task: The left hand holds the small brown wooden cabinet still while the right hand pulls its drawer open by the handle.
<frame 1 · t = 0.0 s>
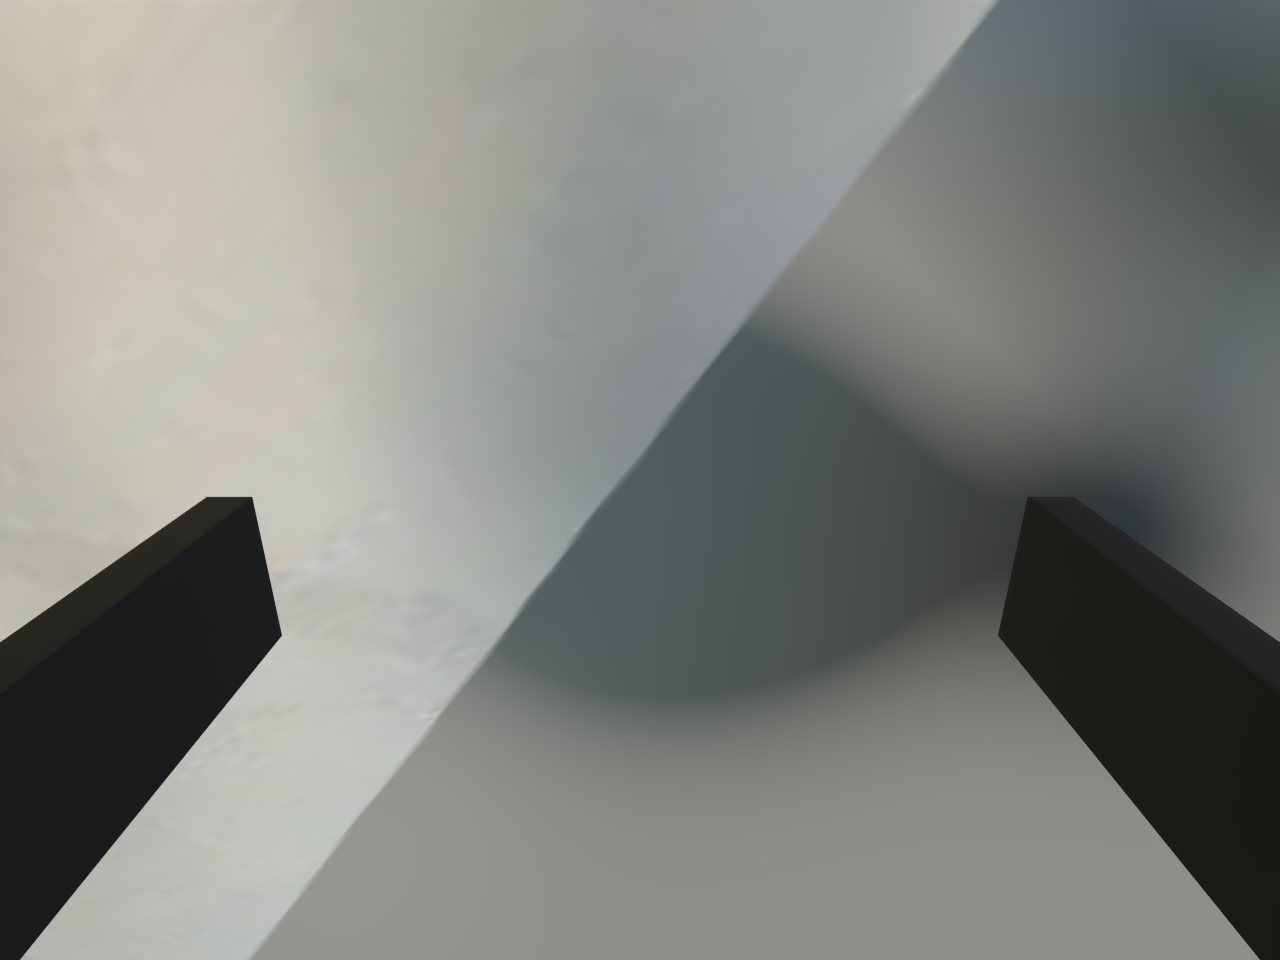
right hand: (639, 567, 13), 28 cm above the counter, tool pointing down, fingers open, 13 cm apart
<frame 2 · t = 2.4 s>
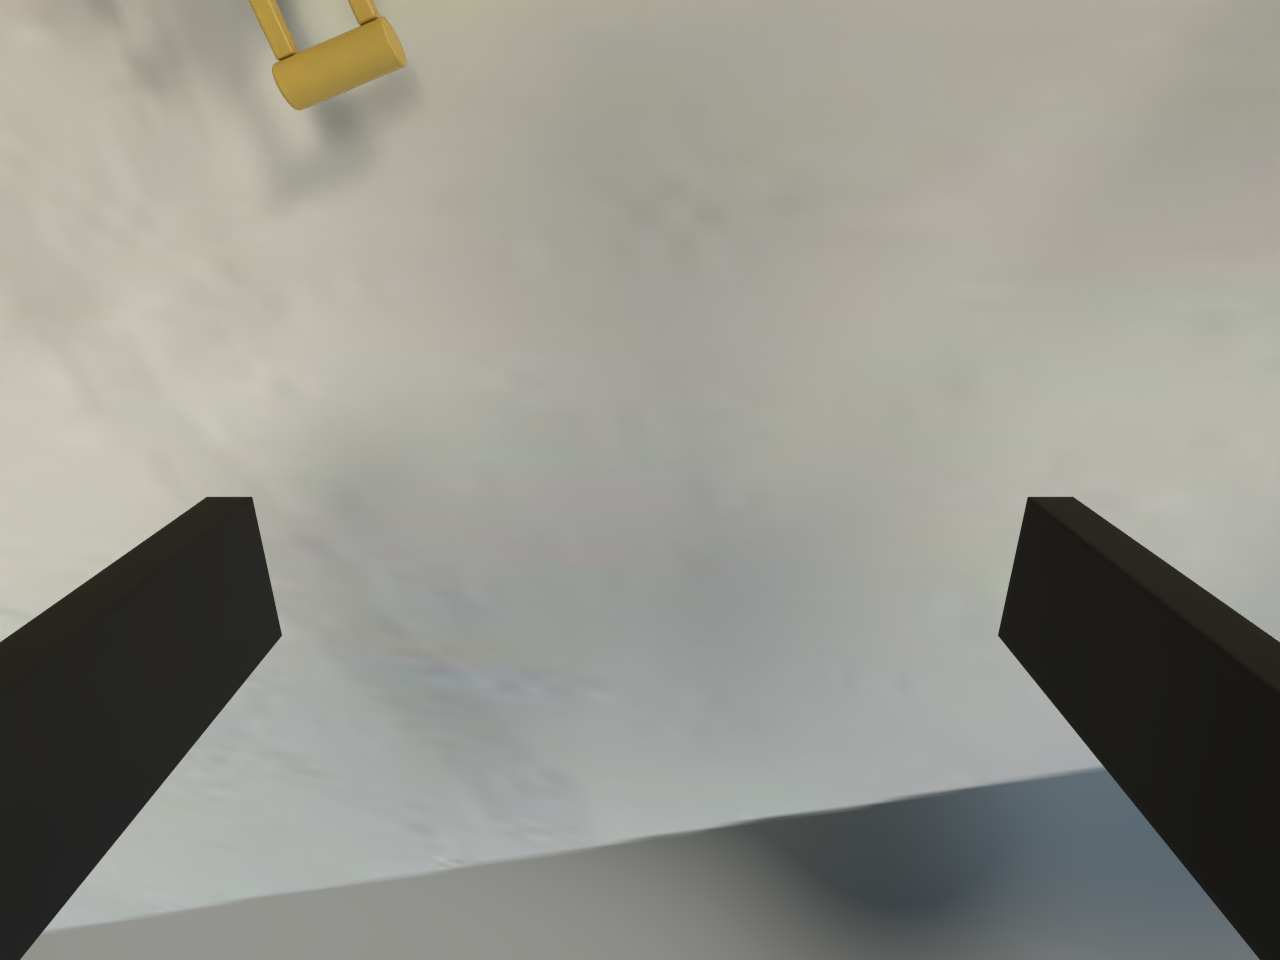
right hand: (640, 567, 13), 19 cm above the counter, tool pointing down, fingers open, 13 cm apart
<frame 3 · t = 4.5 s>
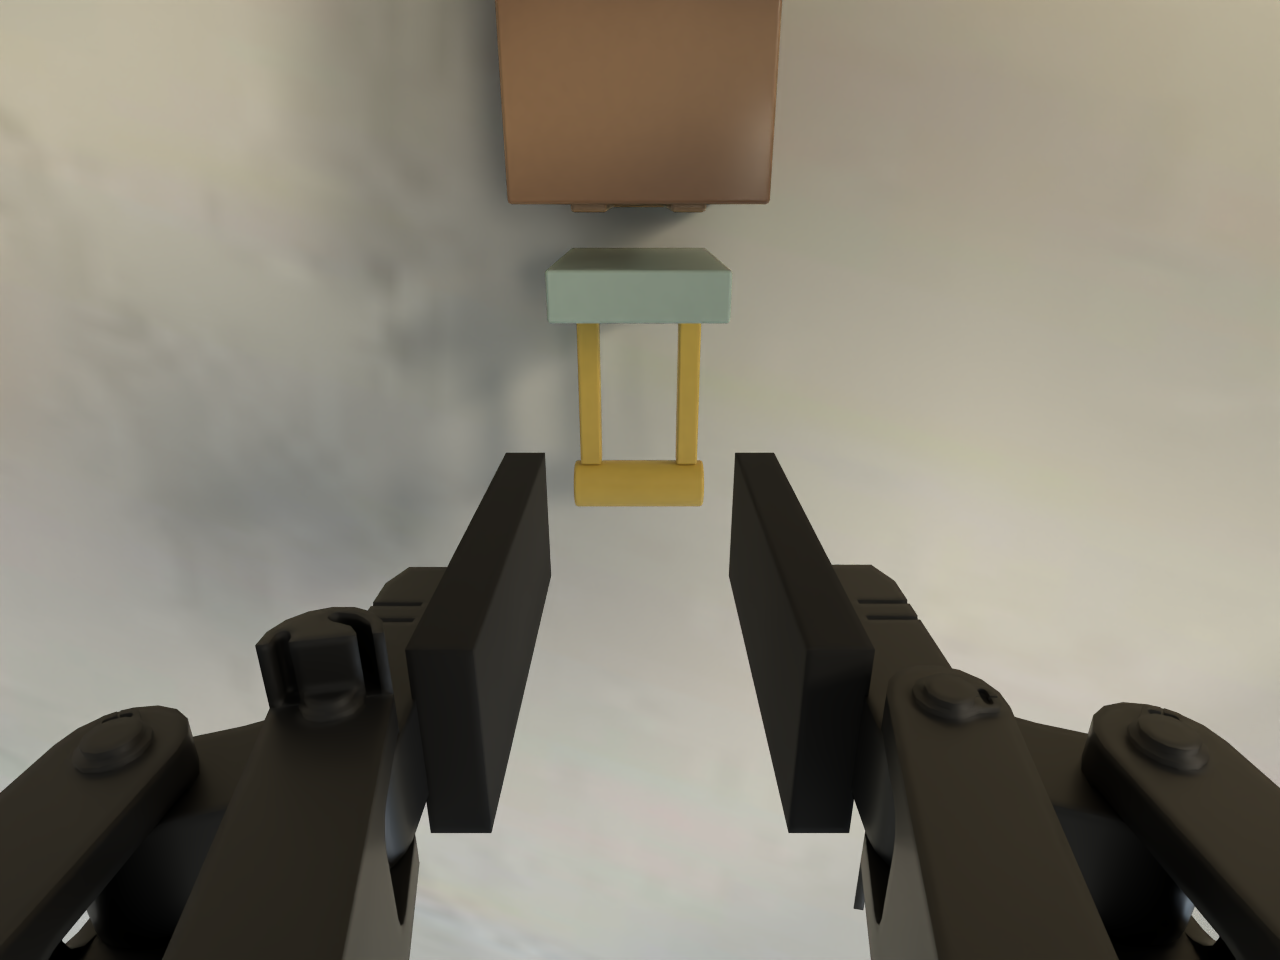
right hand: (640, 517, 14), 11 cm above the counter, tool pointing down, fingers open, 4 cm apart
drawer: (638, 28, 18), point 4 cm above the counter, slide at 1.4 cm
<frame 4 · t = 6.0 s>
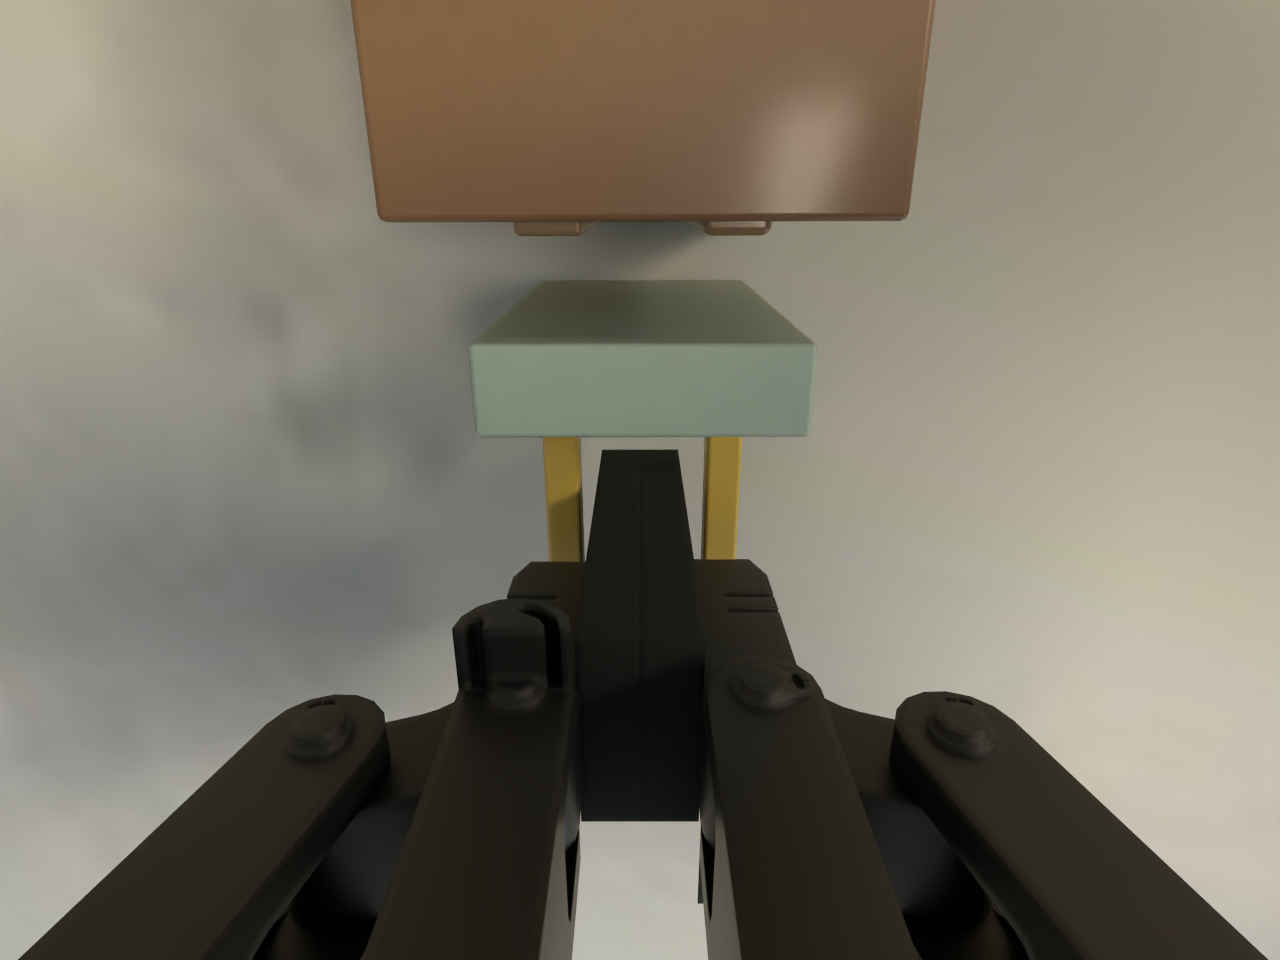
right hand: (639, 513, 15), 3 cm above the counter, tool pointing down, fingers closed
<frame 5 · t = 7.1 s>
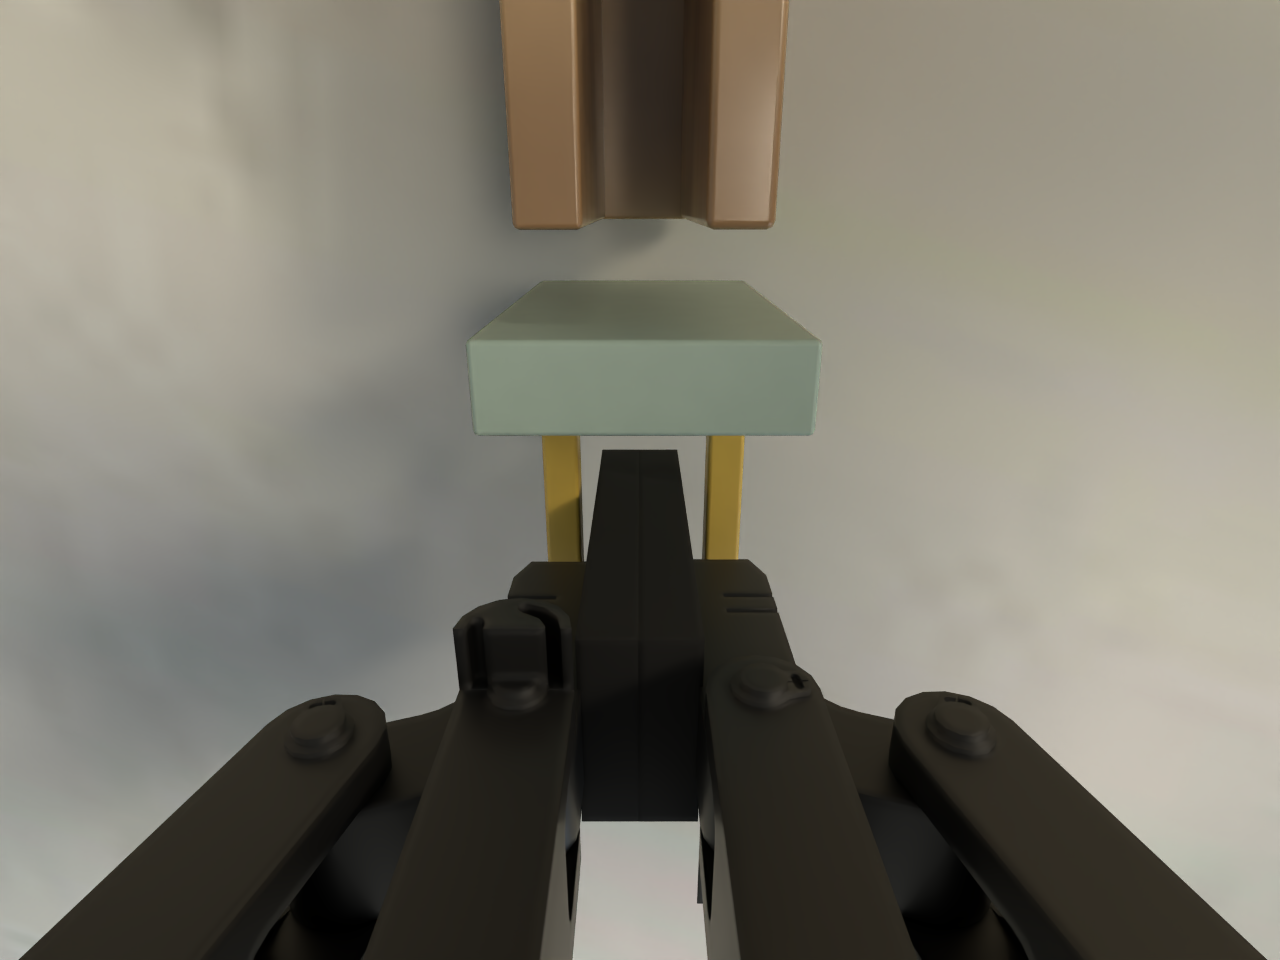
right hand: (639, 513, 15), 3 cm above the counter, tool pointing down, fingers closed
when the left hand's fingers open (3 cm above the counter, at t = 8.5 s): cabinet stays where it is, on the counter.
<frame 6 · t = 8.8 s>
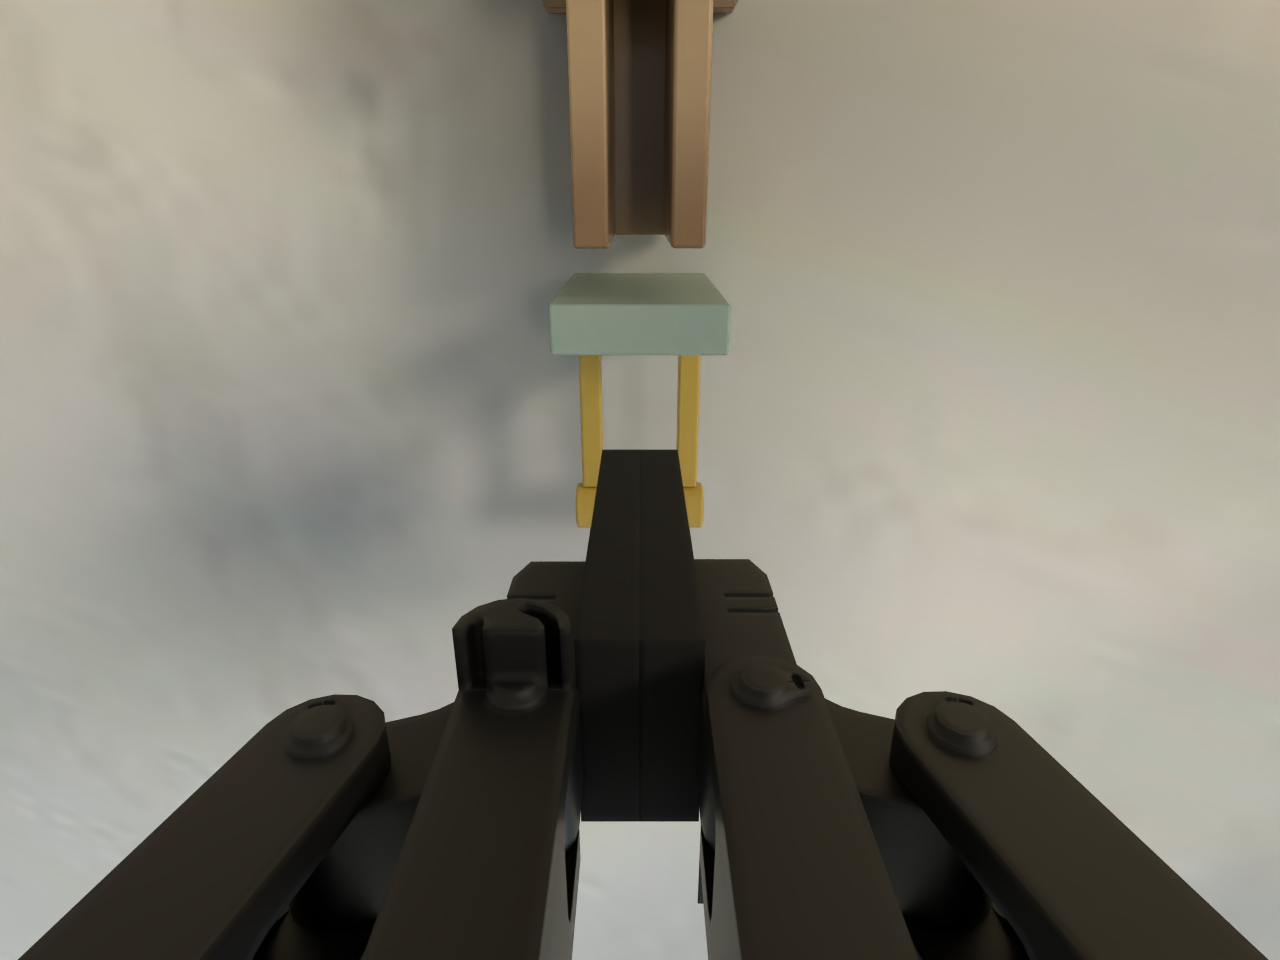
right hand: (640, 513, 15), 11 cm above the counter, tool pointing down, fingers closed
drawer: (639, 66, 18), point 4 cm above the counter, slide at 7.3 cm
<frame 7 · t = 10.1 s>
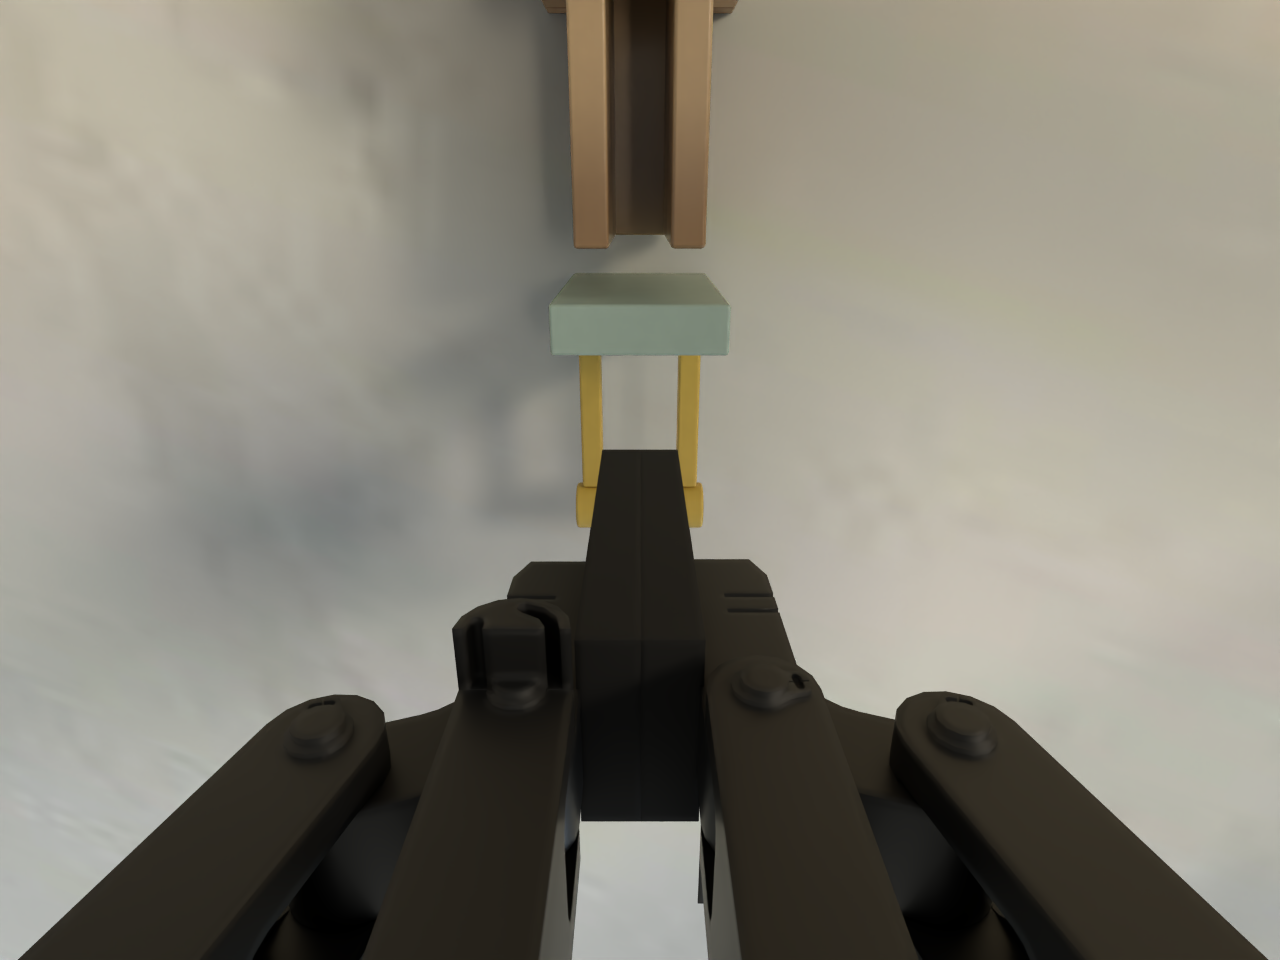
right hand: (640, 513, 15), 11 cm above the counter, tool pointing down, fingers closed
drawer: (639, 66, 18), point 4 cm above the counter, slide at 7.3 cm
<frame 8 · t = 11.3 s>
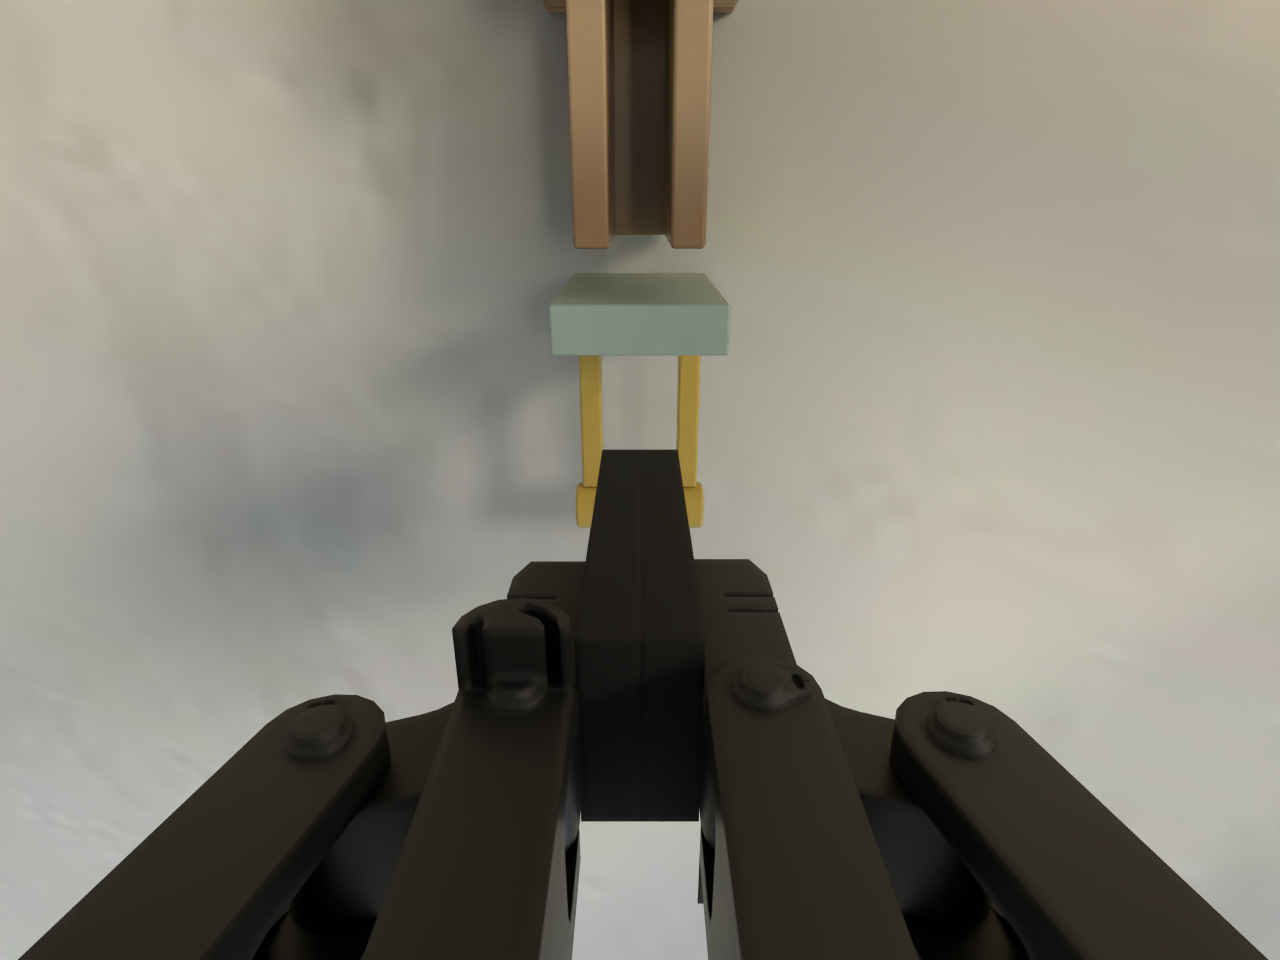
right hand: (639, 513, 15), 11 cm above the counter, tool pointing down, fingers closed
drawer: (639, 66, 18), point 4 cm above the counter, slide at 7.3 cm
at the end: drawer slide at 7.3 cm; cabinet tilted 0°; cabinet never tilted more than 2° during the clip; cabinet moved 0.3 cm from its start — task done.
